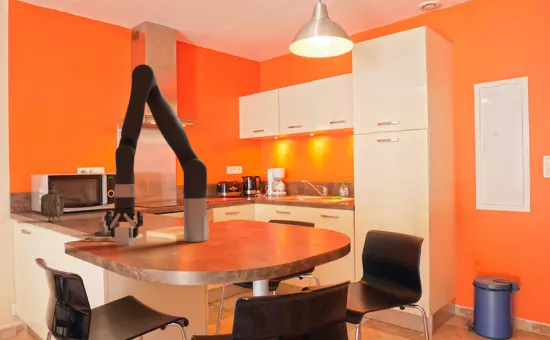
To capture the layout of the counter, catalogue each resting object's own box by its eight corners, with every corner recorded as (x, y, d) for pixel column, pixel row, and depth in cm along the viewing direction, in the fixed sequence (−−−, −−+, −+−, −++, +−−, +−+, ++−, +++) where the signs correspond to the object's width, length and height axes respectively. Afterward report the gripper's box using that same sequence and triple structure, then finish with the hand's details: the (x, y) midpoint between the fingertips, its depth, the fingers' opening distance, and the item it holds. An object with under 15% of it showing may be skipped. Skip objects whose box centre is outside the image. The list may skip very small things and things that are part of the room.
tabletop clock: (56, 222, 242) (56, 182, 243) (40, 223, 240) (40, 182, 241) (63, 220, 256) (63, 182, 257) (48, 220, 254) (48, 182, 255)
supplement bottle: (122, 232, 188) (122, 207, 189) (113, 234, 182) (113, 208, 182) (110, 232, 190) (110, 207, 191) (100, 234, 184) (100, 208, 184)
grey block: (135, 243, 156) (135, 225, 156) (128, 245, 151) (128, 227, 151) (122, 243, 157) (122, 225, 157) (114, 245, 151) (114, 227, 151)
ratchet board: (142, 237, 171) (142, 219, 171) (130, 241, 160) (130, 222, 161) (99, 237, 173) (99, 219, 174) (84, 241, 163) (84, 222, 163)
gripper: (146, 195, 157) (145, 236, 157) (112, 195, 159) (111, 235, 158) (137, 196, 150) (137, 239, 149) (102, 196, 151) (101, 238, 151)
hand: (124, 237), depth 154 cm, fingers open, 8 cm apart
